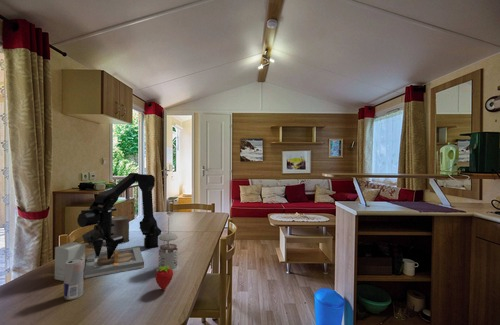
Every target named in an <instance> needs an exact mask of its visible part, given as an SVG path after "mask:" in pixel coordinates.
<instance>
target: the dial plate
mask: <svg viewBox="0 0 500 325" xmlns="http://www.w3.org/2000/svg"><path fill="white" fill-rule="evenodd" d="M116 250H117V251H118V252H127V253H130V254H132V260H131V261H129V262H123V263H114V264H111V265H105V266H99V265H98V264H97V260H98V258H100V257H102V256H104V255H107V250H106V251H105V250H104V251H100V254H99V256H96V253H95V252H91V253H90V252H89V253H88V254H87V257H86V260H85V271H84V275H83V279H88V278H92V277H93V278H94V277H98V276H99V277H100V276H103V275H104V276H105V275H111V274H115V273H116V274H117V273H121V272H122V273H123V272H126V271H131V270H132V271H133V270H137V269H143V268H144V267H145V260H144V257H143V255H142V252H141V249H140V247H139V246H134V247H127V248H119V249H115V251H116Z"/></svg>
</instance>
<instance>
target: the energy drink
mask: <svg viewBox="0 0 500 325" xmlns="http://www.w3.org/2000/svg"><path fill="white" fill-rule="evenodd" d="M83 270H84V262H83V259H80V258H77V259H71V260H68V261H66V263H65V270H64V281H63V284H64V285H63V298H64V300H67V301H72V300H76V299H78V298H80V297H81V296H83V294H84V275H83Z"/></svg>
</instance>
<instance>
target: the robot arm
mask: <svg viewBox="0 0 500 325" xmlns="http://www.w3.org/2000/svg"><path fill="white" fill-rule="evenodd" d="M155 181H156V178H155V176H154V174H145V173H143V174H142V173H141V174H140V173H138V172H130V173H128V174H127V175H126V176H124V177H123V179H121V180H120V181H119V182H117V183H116V184H115V185H114V186H112V188H109V189H106V190H104V191H102V192H100V193H99V194H97V195H96V196H95V199H94V201H93V202H92V204H91V205H90V206H89V207H88V209H82V210H81V211H80V214H79V215H78V217H77V219H76V221H77V224H78V226H79V227H81V228H85V227H90V226H93V225H94V226H93V229H91V230H89V231H87V232H86V233H83V234H82V235H81V236H82V239H83V242H84V243H83V244H88V245H92V247H93V251H94V253H96V256H99V254H100V252H102V251H101V250H102V246H104V247H105V248H106V251H107V258H108V259H110V258H111V256H112V255H113V253H114V251H115V250H117V247H118V246H119V245H121V244H124V243H123V242H124V238H123V237H122V236H118V235H116V236H112V235H114V233H112V226H114V224H112V218H113V212H115V211H117V208H116V207H115V204H116V203H117V202H118V200H119V197H120V196H121V195H122V194H123V193H124V192H126V190H128V189H129V188H130V187H132V185H134V184H135V183H137V185H138V188H139V189H140V191H141V194H142V195H141V198H142V211H143V212H142V213H143V218H142V219H141V221H139V230H140V232H141V234H142V235H143V236H145V237H143V246H144V247H145V249H151V248H158V247H159V248H160V245H159V237H160V236H161V235H162V230H161V229H160V228H159V227H158V222H157V219H156V218H155V217H154V206H153V204H154V202H153V190H154V187H155V184H156V182H155ZM111 236H112V237H111ZM104 241H105V244H104V245H103V243H104Z"/></svg>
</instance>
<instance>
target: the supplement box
mask: <svg viewBox="0 0 500 325" xmlns="http://www.w3.org/2000/svg"><path fill="white" fill-rule="evenodd" d="M77 258H80V259H83V262H84V270H83V276H84V271H85V266H86V243H83V242H82V243H81V242H76V241H75V242H74V241H71V242H68V243H65V244H61V245H59V246H56V247H54V280H58V281H62V282H64V270H65V263H66V261H68V260H71V259H77Z"/></svg>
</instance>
